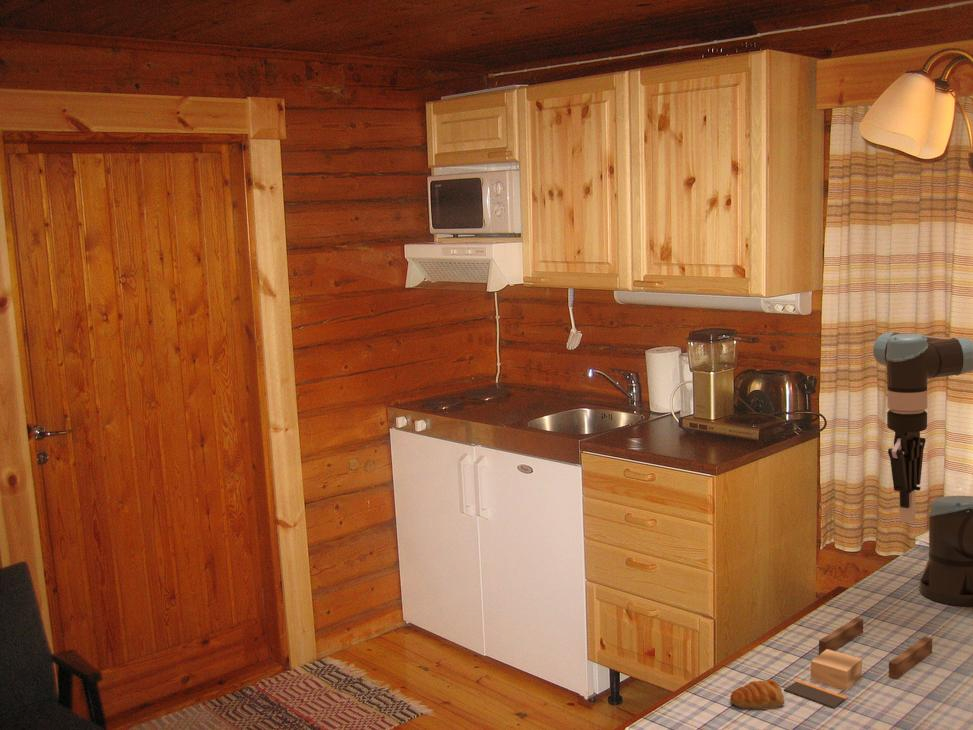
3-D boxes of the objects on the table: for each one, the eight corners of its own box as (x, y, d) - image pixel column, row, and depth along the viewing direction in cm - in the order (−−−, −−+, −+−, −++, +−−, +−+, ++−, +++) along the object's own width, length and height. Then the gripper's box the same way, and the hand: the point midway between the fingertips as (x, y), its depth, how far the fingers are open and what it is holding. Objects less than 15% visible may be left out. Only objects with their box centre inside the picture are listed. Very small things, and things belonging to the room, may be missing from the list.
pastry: (740, 715, 175) (740, 695, 174) (723, 698, 181) (723, 678, 181) (787, 708, 177) (787, 688, 176) (769, 691, 183) (769, 672, 183)
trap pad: (797, 681, 186) (797, 680, 186) (847, 698, 179) (847, 697, 179) (784, 690, 183) (784, 689, 183) (833, 708, 175) (833, 706, 175)
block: (826, 668, 192) (826, 648, 191) (861, 678, 187) (862, 658, 187) (810, 680, 187) (811, 661, 186) (846, 691, 182) (846, 671, 182)
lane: (856, 630, 208) (856, 617, 208) (931, 652, 196) (932, 638, 196) (818, 654, 197) (818, 640, 197) (896, 679, 186) (896, 664, 185)
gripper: (902, 402, 205) (902, 510, 208) (874, 414, 196) (875, 526, 200) (938, 405, 199) (938, 516, 203) (912, 418, 191) (912, 533, 194)
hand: (907, 521), depth 201 cm, fingers closed
